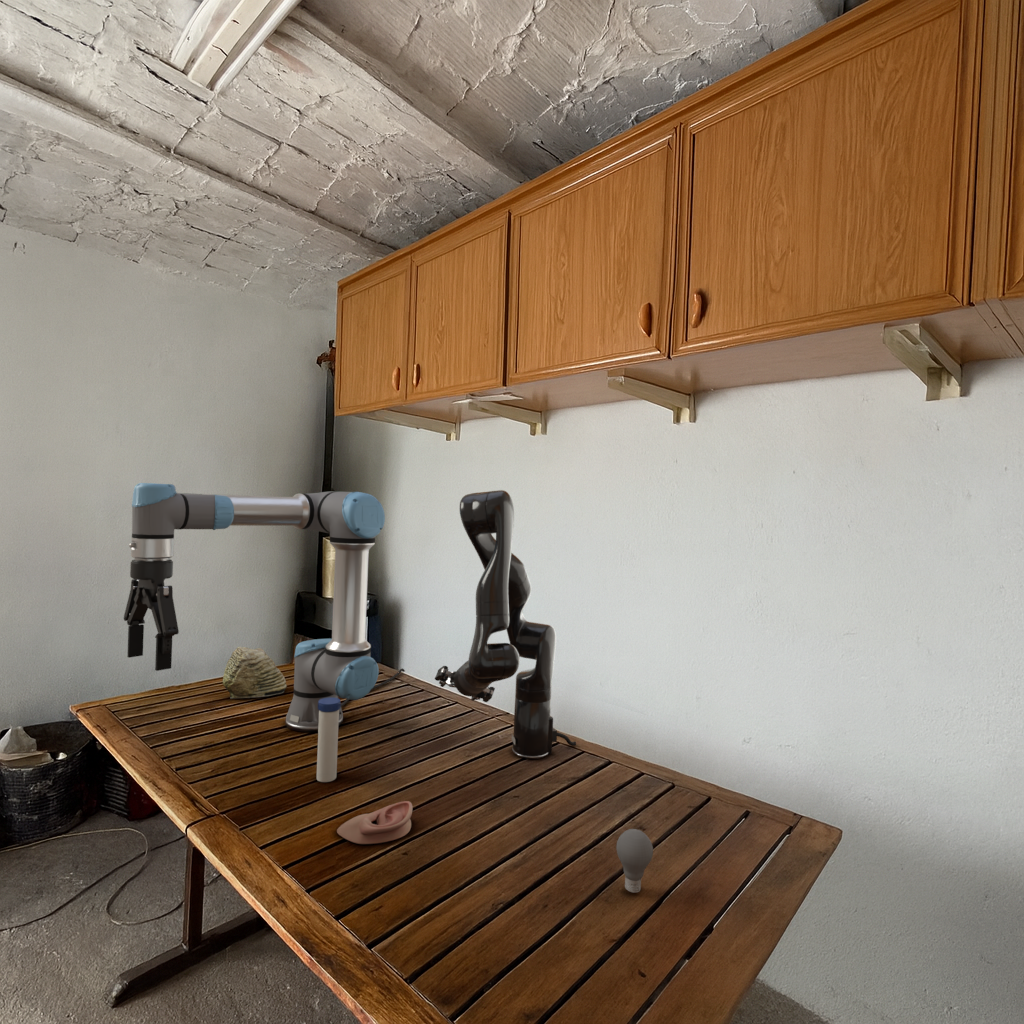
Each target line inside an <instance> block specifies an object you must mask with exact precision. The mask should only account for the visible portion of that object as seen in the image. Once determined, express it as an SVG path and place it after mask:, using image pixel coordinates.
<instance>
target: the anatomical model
mask: <svg viewBox="0 0 1024 1024" xmlns="http://www.w3.org/2000/svg"><path fill="white" fill-rule="evenodd" d="M413 811H414V810H413V804H412V802H411V801H409V800H404V801H399V802H396V803H392V804H389V805H387V806H384V807H382V808H380V809H377V810H375V811H373V812H370V813H362V814H358V815H357V816H354V817H352V818H350V819H348V820H347V821H345V822H344V823H342V824H341V825H339V827H338V828H337V829H336V833H337V835H339V837H342V838H343V839H345V840H346V841H349V842H351V843H353V844H357V845H373V844H382V843H388V842H391V841H394V840H398V839H400V838H403V837H404V836H406V835H407V834H408V833H409V832H410V831H411V828H412V820H411V817H412V814H413Z"/></svg>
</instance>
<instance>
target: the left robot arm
mask: <svg viewBox="0 0 1024 1024" xmlns="http://www.w3.org/2000/svg"><path fill="white" fill-rule="evenodd" d="M385 515H386V513H385V511H384V508H383V505H382V503H381V502H380V501H379V500H378V498H377V497H375V495H373V494H370V493H367V492H363V491H362V492H361V491H337V490H336V491H335V490H333V491H332V490H330V491H321V492H311V493H295V494H294V495H293V496H276V495H275V496H274V495H273V496H272V495H248V494H247V495H246V494H244V495H243V494H220V493H219V494H218V493H217V494H216V493H215V494H214V493H189V492H187V493H186V492H177V491H176V486H175V485H174V484H173V483H152V482H139V483H137V484H136V485H135V486H134V488H133V492H132V501H131V520H132V521H131V542H130V543H128V547H129V548H130V549H131V550H130V556H131V558H133V559H132V560H131V561H130V567H129V568H130V571H129V574H130V575H129V576H130V578H131V581H130V590H129V594H128V598H127V603H126V607H125V610H124V615H123V621H124V622H126V624H127V626H128V629H127V630H128V631H127V658H135V657H142V656H144V635H145V634H144V630H145V625H144V624H145V623H146V621H145V619H144V618H145V616H146V615H147V612H148V609H149V610H151V613H152V618H153V620H154V624H155V627H156V631H157V633H156V635H155V636H154V638H155V661H154V663H155V665H154V668H155V669H154V670H155V671H157V672H159V671H164V670H169V669H172V659H173V657H172V655H173V637H175V636H176V635H179V632H180V631H179V625H178V619H177V615H176V614H177V613H176V609H175V603H174V597H173V595H174V593H173V585H165V580H167V579H171V578H172V577H173V575H174V573H173V572H174V561H173V560H172V559H171V558H173V557H174V554H175V553H174V552H175V530H213V531H215V530H224V529H228V528H230V526H233V527H234V526H237V527H238V526H240V527H243V526H246V527H247V526H249V527H250V526H258V527H259V526H268V527H269V526H276V527H277V526H282V527H284V526H285V527H286V526H287V527H288V526H289V527H290V526H291V527H293V528H294V529H296V530H308V531H309V530H310V531H316V532H319V533H325V534H329V544H330V545H331V546H332V547H333V548H334V550H335V551H334V572H333V573H334V577H333V599H332V625H331V626H332V627H331V638H317V639H308V640H304V641H300V642H299V643H297V645H296V646H295V650H294V655H293V657H294V672H293V673H294V674H293V695H292V696H293V697H292V699H291V702H290V704H289V708H288V711H287V713H286V715H285V726H286V728H287V729H289V730H291V731H294V732H295V731H296V732H301V733H316V732H317V733H318V726H319V710H318V701H319V700H320V699H323V698H338V699H340V698H341V699H342V700H343V699H344V701H343V702H341V707H340V709H339V724H338V727H339V726H340V725H342V723H343V722H344V714H343V709H342V707H344V706H345V705H346V704H347V703H348V702H349V701H357V700H360V699H362V698H364V697H365V696H367V695H368V694H370V692H371V691H372V690H374V689H377V688H379V687H382V686H383V685H386V684H388V683H389V682H391V681H393V680H394V679H396V678H397V677H398V676H399V675H400V674H401V673H402V672H403V673H404V672H405V671H406V670H405V668H404V667H403V668H402V667H401V668H400V669H399V670H398V672H399V673H398V672H396V673H395V674H394V675H392V676H391V677H390V678H388V679H386V680H384V681H382V682H380V683H378V684H376V683H377V682H378V678H379V674H380V672H379V671H380V670H379V669H380V668H379V665H378V663H377V662H376V660H375V659H374V657H371V652H372V649H371V648H372V644H371V643H370V642H368V640H367V639H366V631H367V607H368V606H367V605H368V604H367V602H368V582H369V581H368V579H369V555H370V553H369V552H370V550H371V548H372V547H374V545H375V544H376V536H378V535H379V534H380V533H381V530H383V528H384V526H385V522H386V521H385V520H386V516H385ZM405 673H406V672H405Z"/></svg>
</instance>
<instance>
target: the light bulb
mask: <svg viewBox="0 0 1024 1024" xmlns="http://www.w3.org/2000/svg"><path fill="white" fill-rule="evenodd" d="M615 849H616V854H617V857H618V859H619V861H620V863H621V865H622V867H623V873H624V874H623V875H624V876H625V878H624V888H625V890H627V891H628V892H630V893H634V894H635V893H639V892H640V891H641V889H642V887H641V886H642V879H643V877H644V875H645V871H646V868H647V867H648V866H649V864H650V863H651V861H652V859H653V855H654V847H653V843H652V841H651V838H649V836H648V835H647V834H646V833H645V832H643V831H642V830H641V829H636V828H629V829H627V830H625V831H623V832H622V833H621V834H620V835H619V837H618V839H617V841H616V847H615Z"/></svg>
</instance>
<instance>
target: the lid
mask: <svg viewBox="0 0 1024 1024" xmlns="http://www.w3.org/2000/svg"><path fill="white" fill-rule="evenodd" d="M341 704H342V702H341V699H340V698H339V697H338V698H323V699H320V700H319V701H318V710H320V711H323V712H333V711H337V710H339V709H340V707H341ZM341 708H342V707H341Z"/></svg>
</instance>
